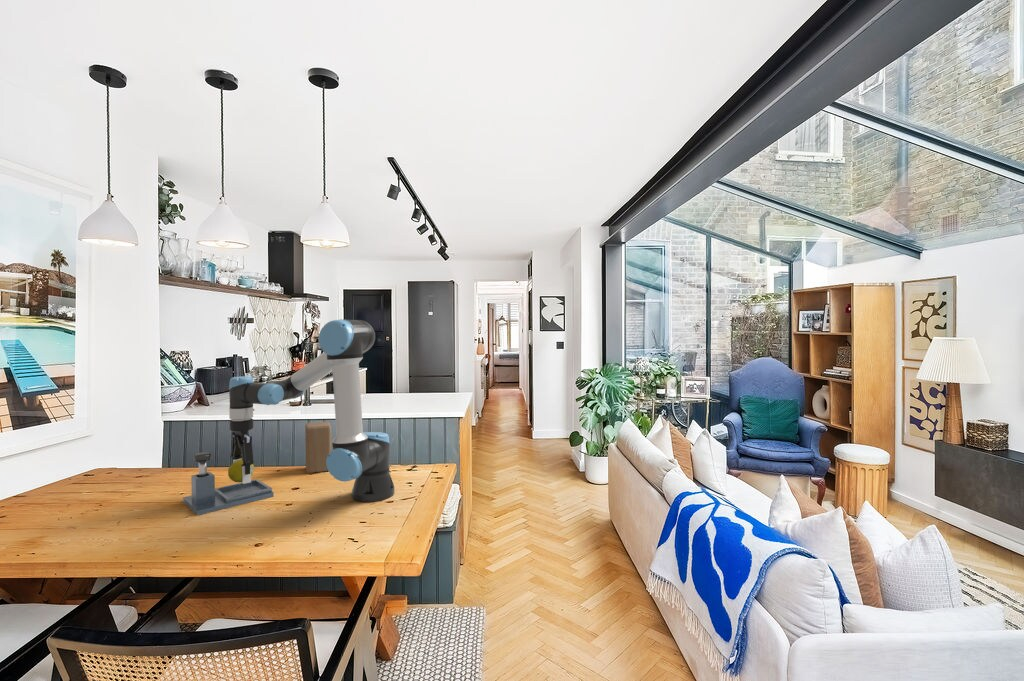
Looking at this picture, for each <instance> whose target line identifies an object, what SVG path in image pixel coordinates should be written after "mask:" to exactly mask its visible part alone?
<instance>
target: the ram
mask: <svg viewBox="0 0 1024 681" xmlns="http://www.w3.org/2000/svg"><path fill="white" fill-rule="evenodd" d="M211 459H212V452H210V451H202V452H198V453H195V454H193V462H196V463H198V474H199V477H204V476H207V472H208V461H210V460H211Z"/></svg>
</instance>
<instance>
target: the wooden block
mask: <svg viewBox="0 0 1024 681" xmlns="http://www.w3.org/2000/svg"><path fill="white" fill-rule="evenodd" d="M304 426H305V427H304V429H305V430H304V431H305V432H304V435H305V438H304V440H305V473H307V474H314V473H315V472H316V473H323V472H329V471H328V469H327V465H326V459H327V456H328V455H329V453H330V452H331V451H332V426H331V424H330V421H318V422H316V421H315V422H307V423H305V425H304Z"/></svg>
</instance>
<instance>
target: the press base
mask: <svg viewBox="0 0 1024 681" xmlns="http://www.w3.org/2000/svg"><path fill="white" fill-rule="evenodd" d="M190 476H191V478H190V479H191V482H190V484H191V495H189V496H185V497H182V503H184V504H185V505H186V506H187V507H188V508H189V510H191V511H192V512H193V513H194V514H195V515H196V516H201V515H206V514H208V513H213V512H216V511H221V510H224V509H229V508H232V507H233V508H234V507H236V506H241V505H244V504H245V505H246V504H249V503H253V502H256V501H261V500H265V499H268V498H269V499H270V498H272V497H274V495H275V494H274V491H273V487H271V486H270V485H268V484H266V483H264V482H263V481H261V480H259V479H258V478H257V479H251V482H250V483H245V484H242V482H237V483H234V484H229V485H224V486H220V487H215V486H216V481H215V479H216V478H215V474H213V473H212V472H211V471H207V476H204V477H199V473H197V474H192V475H190Z"/></svg>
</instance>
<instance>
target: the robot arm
mask: <svg viewBox="0 0 1024 681" xmlns="http://www.w3.org/2000/svg"><path fill="white" fill-rule="evenodd" d="M375 341H376V332H375V330H374V328H373V327H372V325H371V324H370V323H368V322H367V321H365V320H361V319H342V318H340V319H334V320H330V321H328V322H326V323H325V324H324V326H322V328H320V331H319V334H318V346H319V347H320V349H321V350H322V353H320V354H319V355H318V356H317V357H315V358H313V360H311V361H310V362H308V363H307V364H305V365H304V366H302V367H301V368H300V369H298V370H297V371H296V372H295V373H293V374H291V375H290V376H289V377H288V378H286V379H283V380H278V381H277V380H276V381H271V382H262V383H261V382H260V383H259V382H254V378H253V376H250V375H249V376H248V375H247V376H233V377H231V378H230V380H229V384H228V385H229V386H228V387H229V388H228V391H229V392H228V393H229V395H228V396H229V408H228V410H229V415H228V416H229V419H230V421H229V430H230V431H231V448H230V450H231V452H230V457H231V458H232V464H233V463H234V462H235V461H237V460H240V459H242V460H243V464H242V465H241V466H242V482H241V483H242V484H245V483H250V482H251V480H252V476H251V464H253V465H254V463H255V462H254V452H253V437H252V436H251V435H250V434H249V431H251V430H252V429H254V419H253V417H254V411H255V408H254V405H266V406H270V405H271V406H275V405H278V404H280V403H281V402H282V401H287V400H292V399H293V400H294V399H297V398H300V397H302V396H303V395H304V394H305V393H306V390H308V389H309V388H310V387H312V386H313V385H315V384H317V383H318V382H319V381H320V380H322V379H323V378H325V377H326V376H328V375H329V374H331V373H332V382H333V383H332V384H333V385H332V386H333V399H334V413H335V414H334V415H335V417H334V418H335V432H336V435H335V437H334V438H333V439H331V452H330V453H329V455H328V456H327V459H326V465H327V469H328V471H327V472H328V473H329V474H330V475H331V476H332V477H333V478H334V479H336V480H337V481H339V482H344V483H346V482H350V481H352V480H353V481H354V483H353V485H352V490H351V498H352V499H353V500H355V501H357V502H363V503H364V502H365V503H366V502H379V501H382V500H386V499H389V498H391V497H392V496H394V494H395V485H394V481H393V479H392V476H391V473H390V444H391V442H390V436H389V434H388V433H386V432H381V431H380V432H379V431H369V432H368V431H366V432H365V431H364V430H363V429H364V428H363V427H364V426H363V411H362V395H361V394H362V393H361V381H360V380H361V379H360V365H359V364H360V362H361V361H362V360H363V359H364V355H363V354H365V353H366V352H368V351H369V350H370V349H372V347H373V346H374V344H375Z"/></svg>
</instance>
